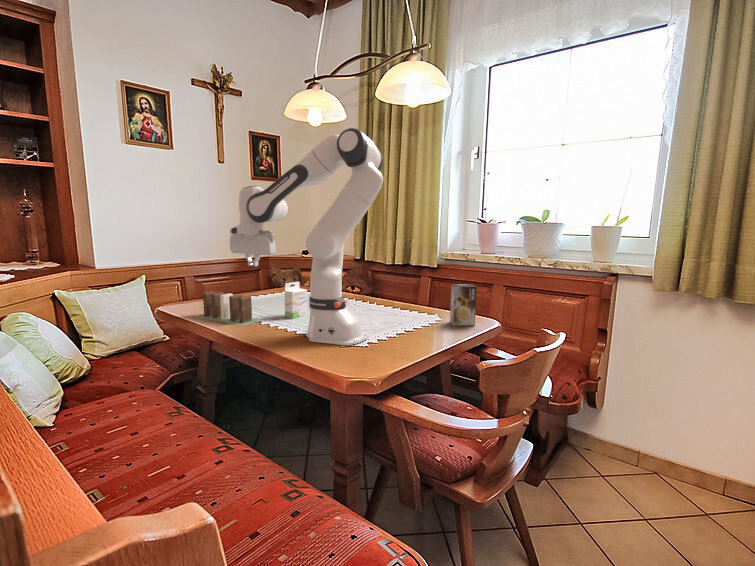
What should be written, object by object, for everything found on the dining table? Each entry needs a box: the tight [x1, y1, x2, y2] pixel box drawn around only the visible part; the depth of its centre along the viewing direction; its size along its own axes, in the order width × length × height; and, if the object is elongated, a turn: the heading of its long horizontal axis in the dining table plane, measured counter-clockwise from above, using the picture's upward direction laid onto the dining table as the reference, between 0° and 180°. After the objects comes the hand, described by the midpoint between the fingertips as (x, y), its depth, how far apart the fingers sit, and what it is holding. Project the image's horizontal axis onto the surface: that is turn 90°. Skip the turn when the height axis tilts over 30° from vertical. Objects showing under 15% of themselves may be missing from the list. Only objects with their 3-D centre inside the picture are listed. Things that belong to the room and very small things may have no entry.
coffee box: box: [449, 283, 478, 326], centre depth 162 cm, size 9×6×16 cm
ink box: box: [284, 281, 308, 320], centre depth 169 cm, size 9×5×15 cm, turn 143°
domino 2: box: [211, 291, 225, 318], centre depth 166 cm, size 2×5×10 cm, turn 153°
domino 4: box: [239, 295, 253, 323], centre depth 159 cm, size 2×5×10 cm, turn 153°
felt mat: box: [197, 314, 262, 327], centre depth 164 cm, size 27×10×1 cm, turn 63°
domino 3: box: [229, 294, 243, 321], centre depth 161 cm, size 2×5×10 cm, turn 153°
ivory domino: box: [220, 293, 234, 320], centre depth 163 cm, size 2×5×10 cm, turn 153°
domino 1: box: [202, 290, 217, 317], centre depth 168 cm, size 2×5×10 cm, turn 153°
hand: (253, 265), depth 154 cm, fingers closed
